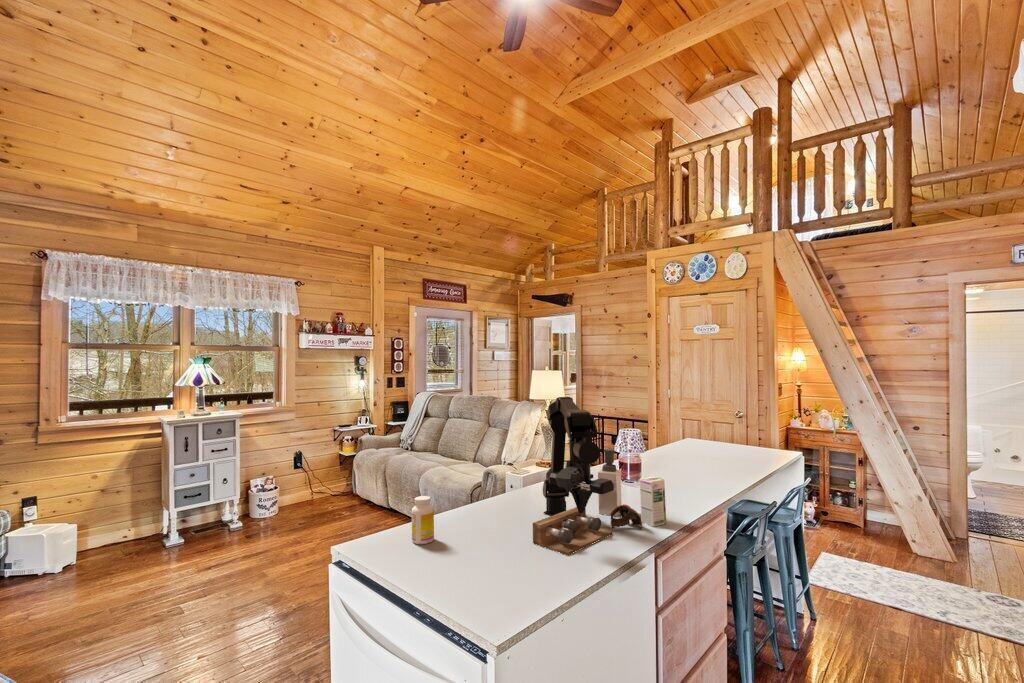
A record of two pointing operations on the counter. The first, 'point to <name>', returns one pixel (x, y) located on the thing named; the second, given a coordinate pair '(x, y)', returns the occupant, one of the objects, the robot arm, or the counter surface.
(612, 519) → the pottery mug
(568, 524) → the knob middle
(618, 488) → the soap dispenser
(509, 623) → the counter surface
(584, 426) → the robot arm
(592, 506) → the counter surface
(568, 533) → the knob near
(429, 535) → the supplement bottle
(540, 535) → the panel
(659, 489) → the syrup box
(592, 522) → the knob far
